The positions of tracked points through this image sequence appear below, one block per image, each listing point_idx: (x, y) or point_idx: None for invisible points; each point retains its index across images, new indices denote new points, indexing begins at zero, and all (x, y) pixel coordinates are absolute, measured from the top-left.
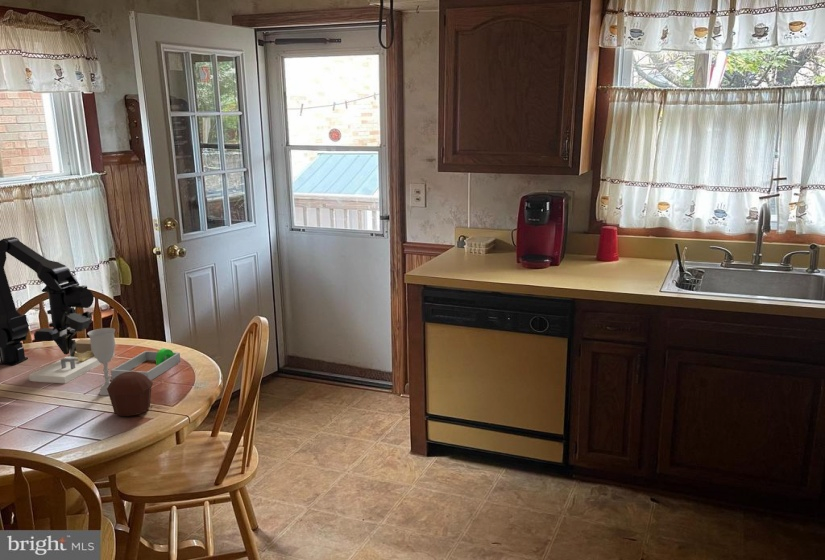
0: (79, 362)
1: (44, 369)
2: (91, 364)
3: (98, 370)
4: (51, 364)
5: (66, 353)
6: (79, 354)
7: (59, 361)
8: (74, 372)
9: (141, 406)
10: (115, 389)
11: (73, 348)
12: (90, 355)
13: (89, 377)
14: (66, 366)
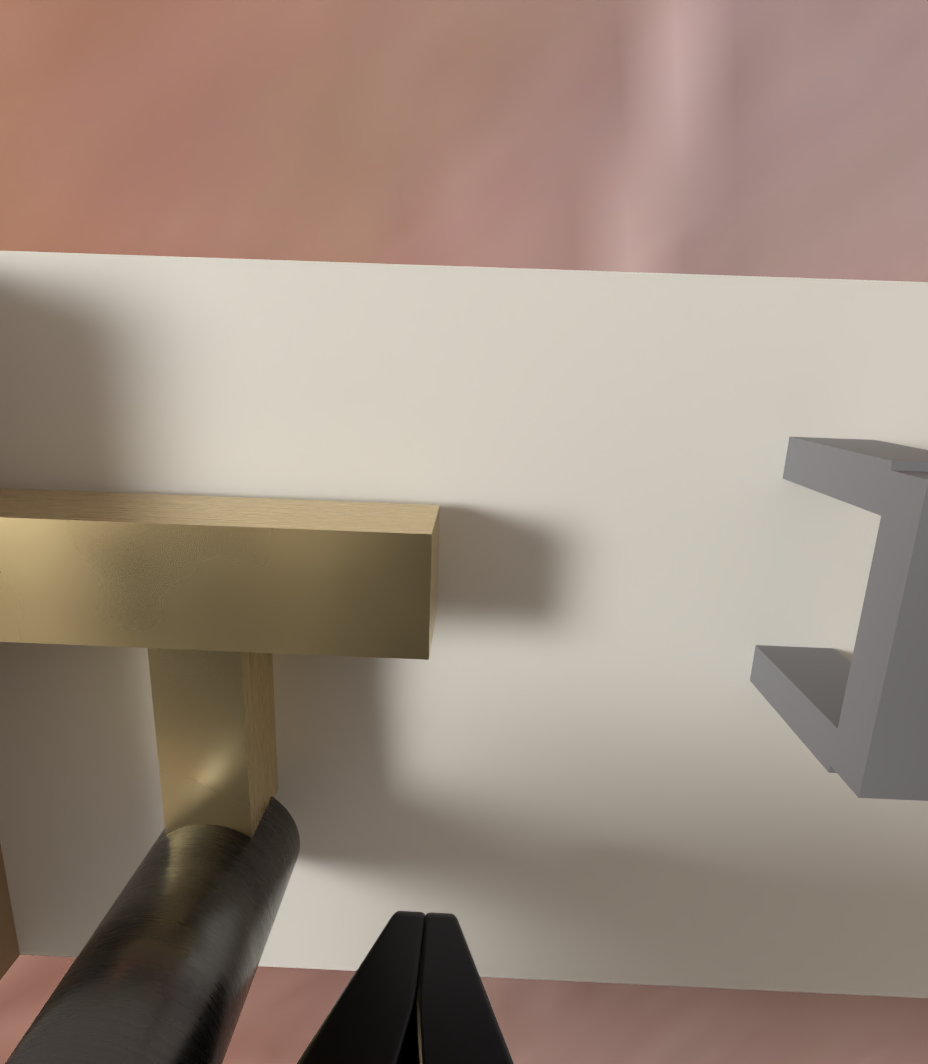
0: (459, 559)
1: (873, 932)
2: (465, 271)
3: (514, 100)
4: (615, 968)
5: (461, 939)
6: (247, 716)
7: None
8: None
9: None
10: None
11: (205, 953)
12: (143, 501)
13: (920, 23)
14: (710, 666)
